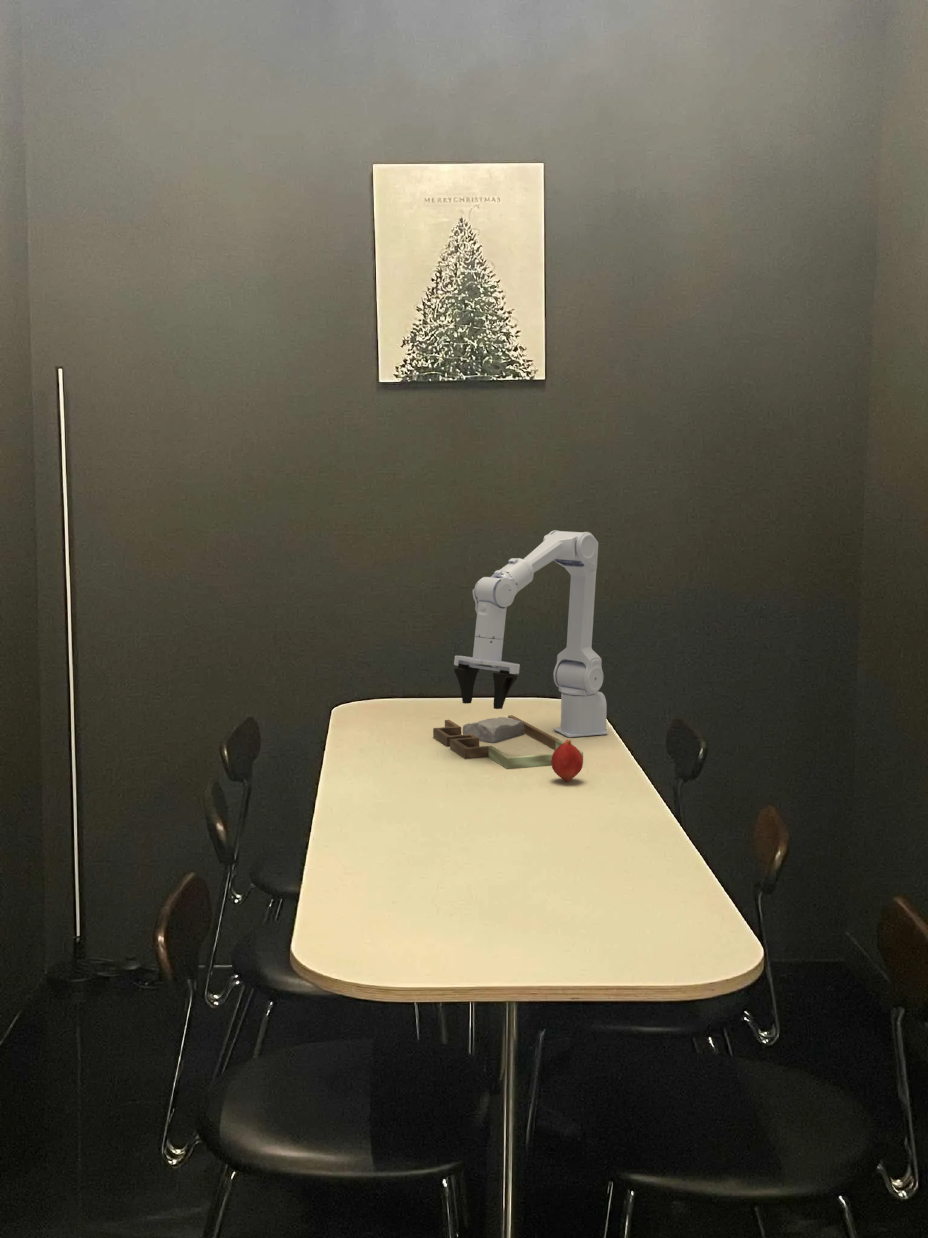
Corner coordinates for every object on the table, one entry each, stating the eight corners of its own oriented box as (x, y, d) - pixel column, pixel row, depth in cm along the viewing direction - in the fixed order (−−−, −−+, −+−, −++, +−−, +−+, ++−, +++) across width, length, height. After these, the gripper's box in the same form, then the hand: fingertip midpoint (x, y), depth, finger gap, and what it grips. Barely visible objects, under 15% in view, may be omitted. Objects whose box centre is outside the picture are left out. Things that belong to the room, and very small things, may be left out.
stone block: (458, 746, 257) (495, 744, 251) (455, 724, 257) (492, 721, 251) (492, 739, 266) (528, 736, 260) (489, 717, 266) (525, 714, 260)
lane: (512, 724, 270) (512, 715, 270) (583, 762, 236) (583, 752, 236) (423, 730, 263) (423, 721, 263) (482, 771, 229) (482, 760, 229)
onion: (545, 783, 220) (546, 740, 219) (558, 776, 226) (559, 734, 224) (575, 787, 218) (576, 743, 217) (587, 779, 223) (588, 737, 222)
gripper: (447, 633, 239) (441, 701, 240) (508, 641, 231) (500, 711, 231) (468, 634, 245) (461, 700, 245) (528, 642, 236) (521, 710, 237)
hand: (482, 706), depth 239 cm, fingers open, 7 cm apart
